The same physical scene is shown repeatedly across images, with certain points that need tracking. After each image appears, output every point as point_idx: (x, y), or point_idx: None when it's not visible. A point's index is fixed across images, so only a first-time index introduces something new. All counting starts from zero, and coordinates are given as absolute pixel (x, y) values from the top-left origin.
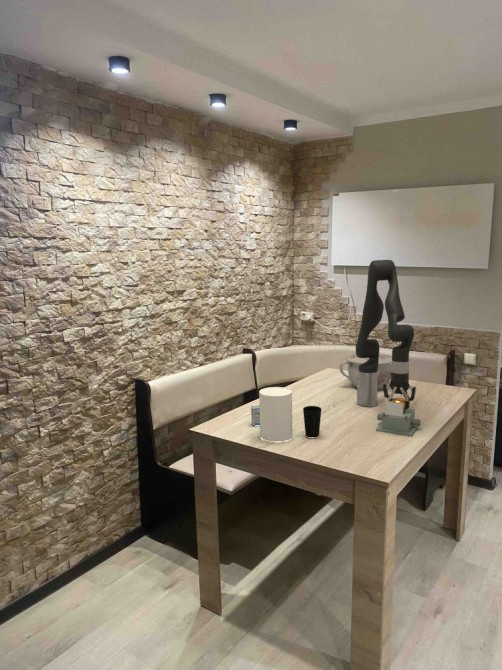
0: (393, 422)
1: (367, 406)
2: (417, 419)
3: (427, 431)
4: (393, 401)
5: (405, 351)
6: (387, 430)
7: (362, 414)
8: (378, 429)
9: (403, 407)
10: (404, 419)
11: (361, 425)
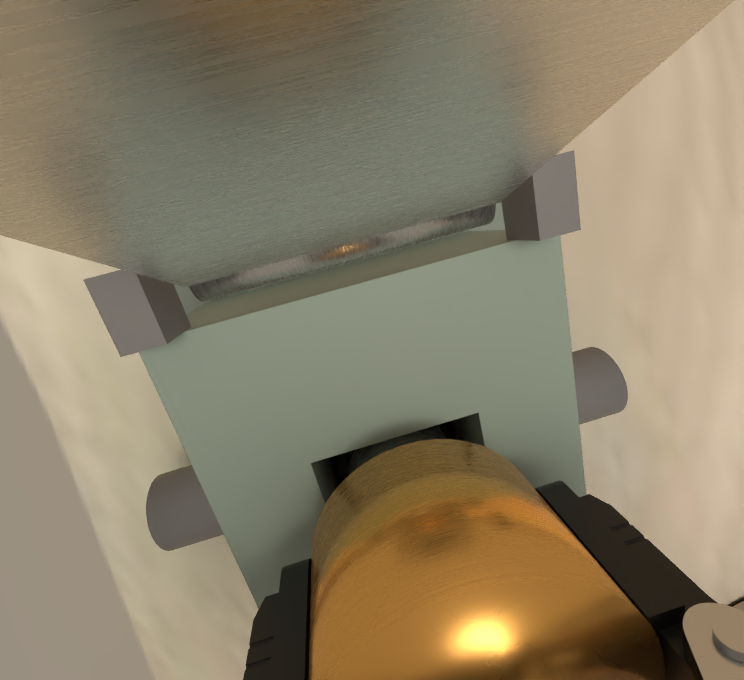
0: (365, 268)
1: (740, 606)
2: (179, 524)
3: (125, 478)
4: (568, 566)
5: None
6: None
7: (727, 462)
8: None
9: (322, 556)
10: (209, 319)
11: (662, 224)
